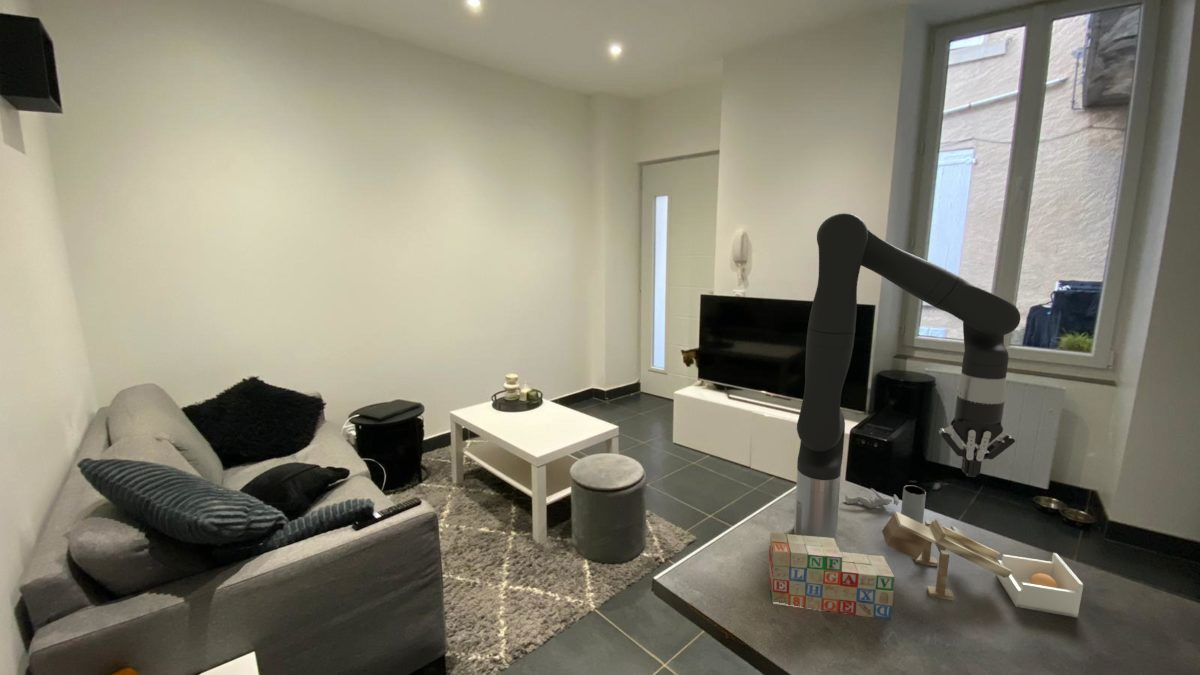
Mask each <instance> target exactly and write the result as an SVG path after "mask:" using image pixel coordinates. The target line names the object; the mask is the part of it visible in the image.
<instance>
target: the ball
mask: <svg viewBox="0 0 1200 675" xmlns="http://www.w3.org/2000/svg"><path fill="white" fill-rule="evenodd" d="M1030 583H1031V584H1035V585H1041V586H1047V587H1053V588H1058V585H1057V583H1056V581H1055V580H1054V579H1053V578H1052V577H1050V576H1048V575H1046V574H1042V573H1038V574H1035V575H1033V576H1032V577H1031V580H1030Z"/></svg>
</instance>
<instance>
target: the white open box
mask: <svg viewBox="0 0 1200 675" xmlns="http://www.w3.org/2000/svg"><path fill="white" fill-rule="evenodd" d="M1001 556H1002V557H1001V560H1000V559H998V560H997V562H998V563H999V565H1002V566H1004V567H1006V568H1008V569H1010V570H1012V573H1011V574H1010V576H1009V577H1005V578H1004V577H1001V576H999V575H997V574H995V575H996V577H997V578H998V581H999V582H1000V584H1001V585H1002V587H1003V588H1004V590H1005V591H1006V593H1007V594H1008V596H1009V598H1010V600H1011V601H1012V602H1013V604H1014V605H1015V607H1017V608H1021V609H1027V610H1031V611H1032V610H1033V611H1039V612H1044V613H1051V614H1054V615H1055V614H1056V615H1060V616H1067V617H1072V618H1079V611H1080V605H1081V601H1082V595H1083V594H1082V593H1083V589H1084V584H1083V582H1082V581H1081V580H1080V579H1079V577H1078V576H1077V575H1076V574H1075V573H1074V572H1073V571H1072V569H1071V568H1070V567H1069V565H1067V563H1066V562H1065V561H1064V560H1063V558H1062V557H1060V556H1059V554H1058V553H1057V552H1052V555H1051V556H1052V558H1051V561H1050V560H1042V559H1036V558H1030V557H1024V556H1016V555H1010V554H1003V553H1002V555H1001ZM1038 573H1042V574H1046V575H1048V576H1050V577H1052V578H1053V579H1054V580H1055V581H1056V583H1057V585H1058V588H1053V587H1047V586H1041V585H1035V584H1031V583H1030V580H1031V577H1032V576H1033V575H1035V574H1038Z"/></svg>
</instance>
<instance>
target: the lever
mask: <svg viewBox="0 0 1200 675" xmlns="http://www.w3.org/2000/svg"><path fill="white" fill-rule="evenodd" d="M931 521H932V523H931V524H930V525H929V526H928V527H927V526H925V524H924V523H923V524H921V523H919V522H917V521H915V520H913V519H911V518H909V517H907V516H905V515H903V514H901V512H899V511H897V510H895V511H894V513H893V514H892V515H891V517H890V519H889V520H888V521H887V523H886V524H885V526H884V527H883V529H882V530H881V532H882V535H883V538H884V541H885V543H886V546H889V547H890V548H893V549H894V550H896V551H898V552H900V553H902V554H903V555H906V556H907V557H911V558H912V559H914V560H915V559H916V560H917V558H918V557H919V556H920V555H922V552H923V550H924V549H925V547H926V546H927V545H928V543H929V542H932V544H935V546H936V548H937V550H938V552H939V553H940V550H945V551H948V552H951V553H952V554H954V555H957V556H958V557H961V558H963V559H965V560H967V561H969V562H971V563H974V564H975V565H978V566H979V567H981V568H983V569H986V570H987V571H990V572H992V573H994V574H995V575H996V574H997V575H999V576H1001V577H1004V578H1005V577H1009V576H1010V574H1011V573H1012V570H1010V569H1008V568H1006V567H1004V566H1002V565H999V563H998V560H997V559H998V558H999V557H1000V555H1001V553H1000V552H999V551H997V550H995V549H993V548H991V547H989V546H986V545H984V544H982V543H980V542H977V541H976V540H974V539H972V538H970V535H969V534H968V532H966V531H964V530H963V529H960V528H958V527H955V526H953V525H951V526H950V528H949V527H946V526H944V525H942V523H941V521H940V520H939V519H938V518H935V519H934V520H931ZM997 575H996V576H997Z"/></svg>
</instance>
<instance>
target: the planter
mask: <svg viewBox="0 0 1200 675" xmlns="http://www.w3.org/2000/svg"><path fill="white" fill-rule="evenodd" d="M926 496H927V492H926V490H925V489H923V488H922V487H919V486H916V485H913V484H912V485H905V486H903V488H902V499H901V508H900V513H901V514H903V515H905V516H907V517H909V518H911V519H913V520H915V521H917V522H919V523H921V524H923V525H924V516H925V506H926Z"/></svg>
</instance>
